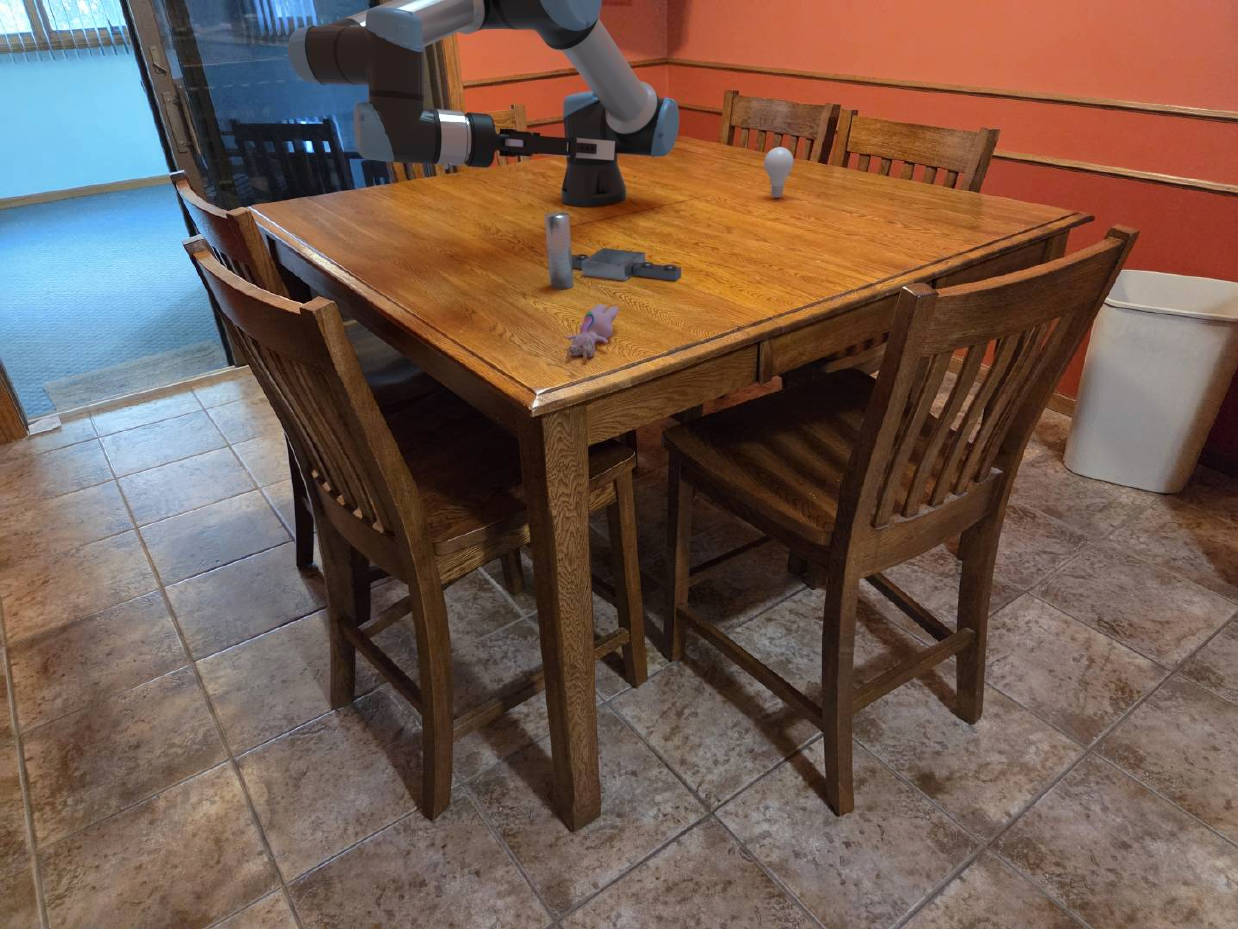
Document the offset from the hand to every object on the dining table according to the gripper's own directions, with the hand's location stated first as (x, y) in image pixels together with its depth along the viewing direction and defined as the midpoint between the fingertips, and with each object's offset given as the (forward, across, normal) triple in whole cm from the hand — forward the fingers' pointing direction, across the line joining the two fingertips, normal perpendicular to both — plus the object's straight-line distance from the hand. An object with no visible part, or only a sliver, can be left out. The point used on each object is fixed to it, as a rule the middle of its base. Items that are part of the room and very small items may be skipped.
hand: (595, 149), depth 129 cm
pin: (-3, -5, -22) cm, 23 cm away
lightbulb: (+60, -32, -7) cm, 68 cm away
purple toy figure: (-7, +20, -26) cm, 34 cm away
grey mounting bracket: (+8, -7, -20) cm, 22 cm away
